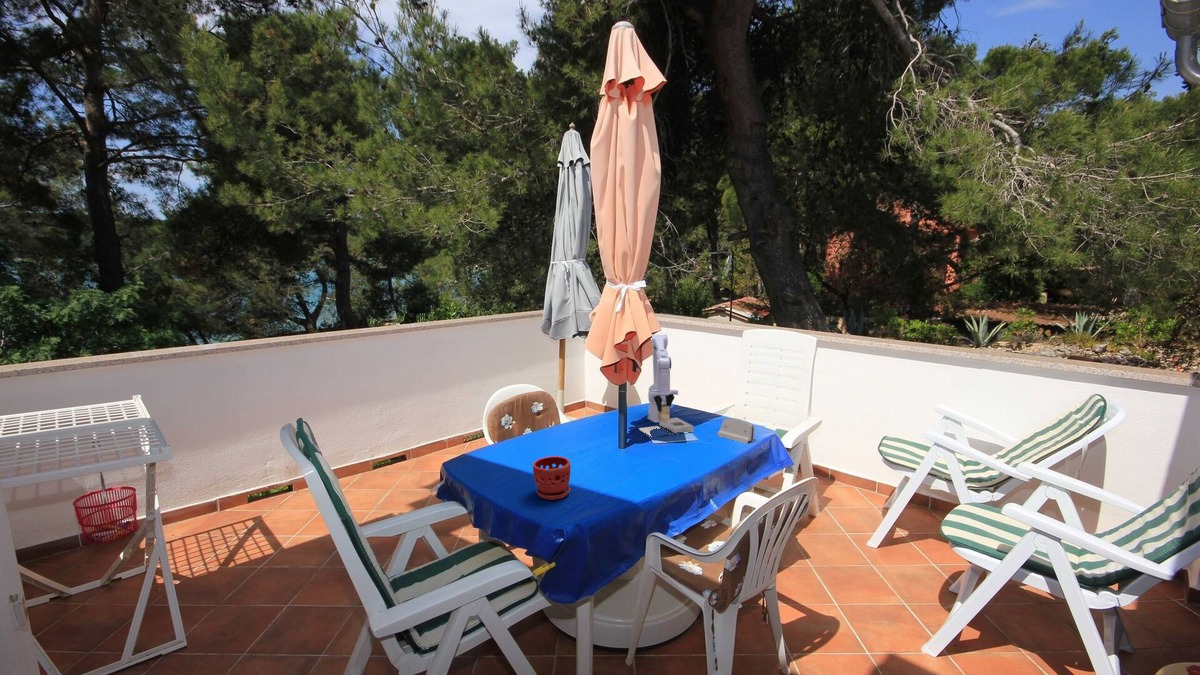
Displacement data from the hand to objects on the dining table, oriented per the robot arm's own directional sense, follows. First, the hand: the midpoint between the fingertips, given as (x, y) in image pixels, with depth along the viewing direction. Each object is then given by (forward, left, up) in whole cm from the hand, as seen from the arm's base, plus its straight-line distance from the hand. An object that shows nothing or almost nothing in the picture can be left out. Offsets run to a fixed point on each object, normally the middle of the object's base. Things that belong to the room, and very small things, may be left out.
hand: (663, 410), depth 262 cm
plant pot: (+49, -69, -11) cm, 86 cm away
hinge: (+21, +27, -11) cm, 36 cm away
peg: (0, 0, -5) cm, 5 cm away
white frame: (-2, +8, -10) cm, 13 cm away
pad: (-1, -4, -10) cm, 11 cm away
